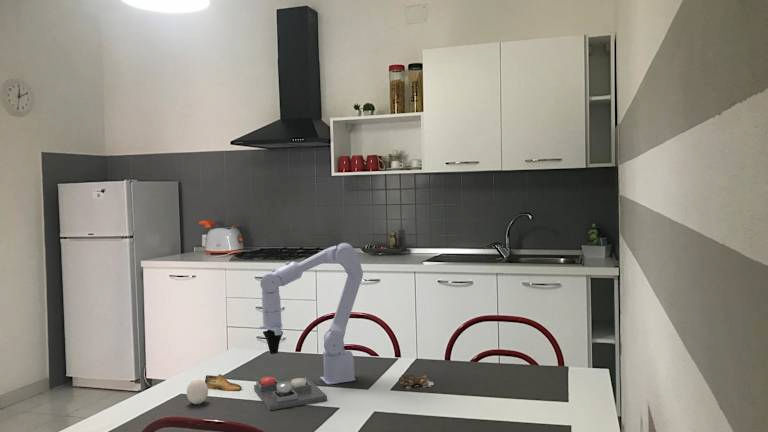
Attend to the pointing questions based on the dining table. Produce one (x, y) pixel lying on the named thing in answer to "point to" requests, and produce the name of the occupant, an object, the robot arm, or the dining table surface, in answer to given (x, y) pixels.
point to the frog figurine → (415, 381)
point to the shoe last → (221, 383)
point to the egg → (197, 391)
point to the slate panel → (289, 395)
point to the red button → (267, 381)
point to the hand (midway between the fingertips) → (273, 353)
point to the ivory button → (298, 382)
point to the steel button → (284, 388)
